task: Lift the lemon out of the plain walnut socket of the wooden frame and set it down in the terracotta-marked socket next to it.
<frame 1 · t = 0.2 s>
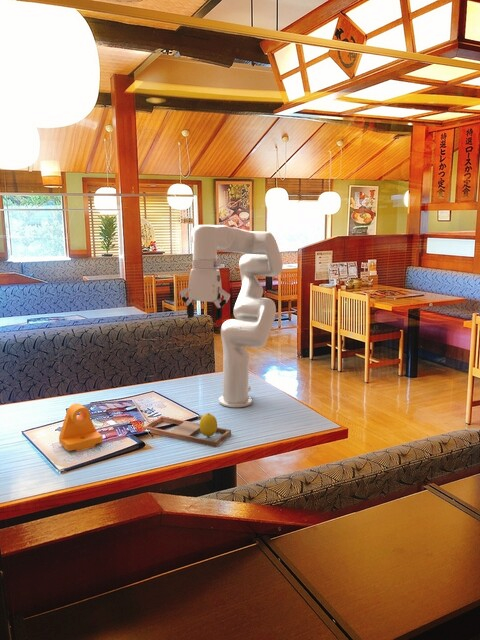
hand: (204, 318, 164), 36 cm above the table, tool pointing down, fingers open, 9 cm apart
bracket: (81, 445, 154), on the table
wooden frame: (186, 432, 164), on the table
lemon: (208, 438, 160), resting in wooden frame
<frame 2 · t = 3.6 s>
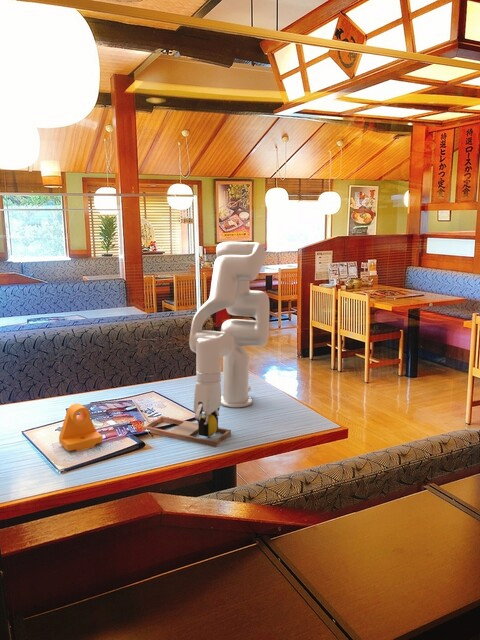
hand: (208, 431, 160), 2 cm above the table, tool pointing down, fingers closed on lemon, 5 cm apart
lemon: (208, 438, 160), resting in wooden frame, touching gripper
everything else where it was.
when the fingers open (3 cm above the table, at t = 10.7 s): lemon stays where it is, resting in wooden frame.
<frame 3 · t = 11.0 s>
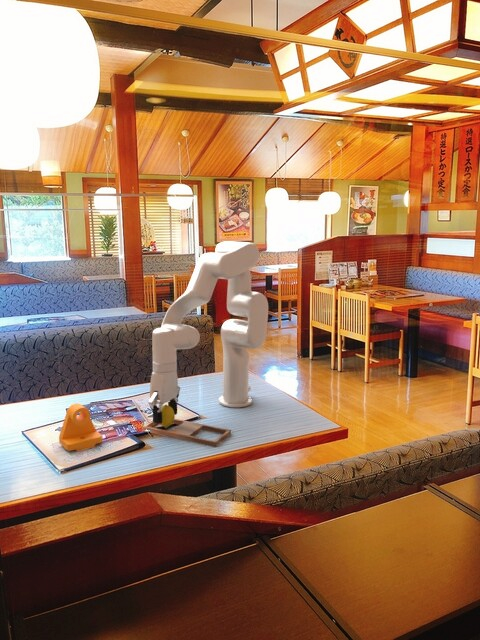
hand: (165, 418, 166), 4 cm above the table, tool pointing down, fingers open, 8 cm apart
lemon: (166, 428, 167), resting in wooden frame
everything else where it was.
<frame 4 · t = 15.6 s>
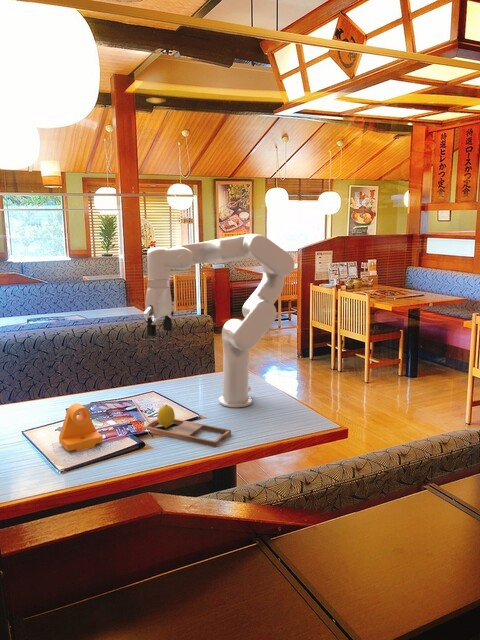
hand: (159, 333, 178), 28 cm above the table, tool pointing down, fingers open, 9 cm apart
nothing on the table moved.
at the end: lemon 0.3 cm from the target spot on the wooden frame, point 0.0 cm above the wooden frame's base; the gripper is holding nothing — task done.
